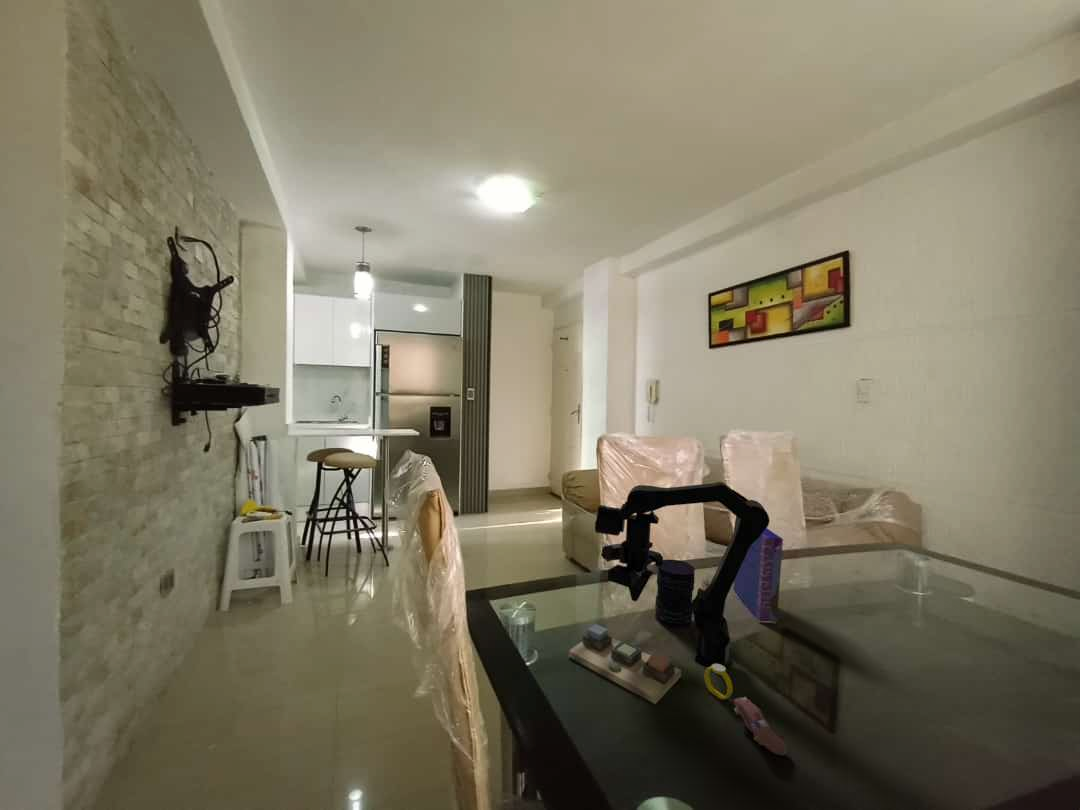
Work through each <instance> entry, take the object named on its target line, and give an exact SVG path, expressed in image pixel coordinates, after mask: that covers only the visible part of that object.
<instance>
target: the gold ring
mask: <svg viewBox="0 0 1080 810" xmlns="http://www.w3.org/2000/svg"><path fill="white" fill-rule="evenodd" d="M726 668H727V667H726ZM726 668H725V667H724V666H723V665H721V664H713V665H712V666H710V667H708V666H707V667H706V669H705V670H704V674H703V677H704V678H703V679H704V683H705V685H706V688H707V689H708V691H709V693H711V694H713V695H714V696H715V697H717V698H718V699H719V700H727V699H728V698H730V697H731V696H732V694H733V681H732V680H731V678H730V675H729V674H728V673H727V669H726ZM711 671H712V673H715V674H716V675H720V676H721V677H722V678H723V679H724V681H725V684H726V688H727V689H726V694H724V695H723V694H722V693H721V692H720V691H718V690H717V689H715V687H714V686H713V684H712V682H711V677H710V672H711Z"/></svg>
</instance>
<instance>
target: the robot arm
mask: <svg viewBox="0 0 1080 810" xmlns="http://www.w3.org/2000/svg"><path fill="white" fill-rule="evenodd" d="M715 502H716V503H717V502H718V503H720V504H721V505H722V506H723V507H725V508H726V509H727V510H729V512H731V513H732V514H733V515H734V516H735V519H734V527H733V532H732V535H731V538H730V541H729V543H728V544H727V547H726V549H725V550H724V551H725V552H724V553H723V555H722V558H721V560H720V562H719V565H718V566H717V568H716V571H715V572H714V575H713V577H712V580H711V581H710V584H709V586H708V587H707V588H705V589H702V588H701V587H698V589H697V593H696V596H695V598H692V605H693V614H692V615H693V622H694V626H695V627H696V628H697V630H698V631H699V632H698V635H697V636H696V641H695V654H696V656H695V657H694V661H695V662H697V663H699V664H701V665H703V666H706V667H707V668H708V667H710V666H712V665H713V664H721V665H723V666H724V667H725V668H727V667H728V666H729V665H730V663H731V662H732V658H731V657H730V647H731V636H730V631H729V627H728V621H727V619H726V618H725V617H724V611H725V605H726V600H727V597H728V595H729V592H730V591H731V588H732V586H733V585H734V580H735V578H736V576H737V574H738V572H739V569H740V567H741V565H742V563H743V561H744V559H745V557H746V554H747V552H748V550H749V548H750V546H751V545H752V544H753V543H754V542H755V541H756V540H757V539H758V538H759V537H760V536H761V535H762V533H763V532H764V531H765V529H766V528H767V529H768V526H770V525H769V524H770V516H769V513H768V512H767V511H766V509H765V508H764V505H762V503H760V502H759V501H757V500H754V499H748V498H746V497H745V496H744V495H742V494H741V493H739V492H738V491H737V490H735V489H733V488H732V487H730V486H728V484H726V483H725V482H723V481H716V482H714V483H713V482H712V483H703V484H702V483H701V484H691V485H682V486H681V485H680V486H673V487H660V486H654V485H642V484H639V485H636V486H633V487H632V488H631V490H630V491H629V493H628V495H627V498H626V501H625V502H624V503H622V504H621V507H620V508H619V507H613V506H612V507H610V506H606V505H604V504H603V505H602V504H600V505H599V506H598V507H597V512H596V519H595V521H594V523H595V524H594V531H595V533H596V534H600V535H601V534H602V535H609V536H616V537H619V535H620V534H621V533H624V532H626V534H625V540H623V541H622V542H621V543H614V544H608V545H607V544H606V545H603V546H602V550H601V554H600V556H601V557H602V559H603V560H605V562H606V563H608V562H609V563H610V562H612V561H619V563H620V564H616V565H614V566H612V567H611V568H610V569H608V570H607V571H606V572H607V573H606V579H607V581H609V582H612V583H615V584H617V585H620V586H623V587H627V588H628V591H629V595H630V598H631V601H633V602H637V601H638V600H639V598H640V596H641V594H642V593H643V590H644V589H645V587H646V585H647V583H648V581H649V580H650V579H651V577H652V575H653V573H654V572H653V571H652V570H649V568H648V566H650V565H651V564H652V563H655V567H657V568H658V567H660V566H661V565H663V560H664V556H663V555H662V554H661V553H660V552H657V551H654V550H650V549H651V548H653V546H654V545H653V542H652V541H651V524H653V525H654V524H655V525H658V524H659V520H660V517H658V516H657V515H656V514H655V511H657V510H659V509H661V508H665V507H668V506H669V507H671V506H681V505H691V504H692V505H693V504H705V503H715ZM625 523H626V527H625ZM625 529H626V531H624V530H625ZM621 564H625V565H621ZM730 661H731V662H730ZM729 662H730V663H729ZM727 665H728V666H727Z"/></svg>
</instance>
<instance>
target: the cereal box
mask: <svg viewBox="0 0 1080 810" xmlns="http://www.w3.org/2000/svg"><path fill="white" fill-rule="evenodd" d="M783 543H784V538H782V537H781V536H779V535H778V534H776V533H775V532H773V531H772V530H770V529H768V527H767V528H766V529H765V531H764V532H763V533H762V535H761V536H760V537H759V538H758V539H757V540H756V541H755V542H754V543H753V544H752V545H751V546H750V548H749V550H748V552H747V554H746V557H745V559H744V561H743V563H742V565H741V567H740V569H739V572H738V574H737V576H736V578H735V580H734V582H733V590H734V591H735V593H736V594H737V596H738V597H739V599H740V600H741V601H742V603H743V604H744V605H745V606H746V607H747V608H748V609H749V611H751V613H752V614H753V615H754V616H755V617H756V618H757V619H758V620H759V621H772V622H777V623H778V612H779V599H780V583H781V571H782V557H783ZM739 599H738V600H739ZM742 603H741V604H742ZM743 604H742V605H743ZM744 605H743V606H744ZM745 606H744V607H745ZM746 607H745V608H746ZM749 611H748V612H749ZM751 613H750V614H751ZM752 614H751V615H752ZM753 615H752V616H753ZM754 616H753V617H754Z"/></svg>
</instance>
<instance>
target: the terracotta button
mask: <svg viewBox="0 0 1080 810" xmlns="http://www.w3.org/2000/svg"><path fill="white" fill-rule="evenodd" d="M650 656H651V657H649V661H648V666H650V667H652V668H654V669H656V670H658V671H660V672H662V673H664V672H665V671H666V670H667V669H668V668H669V667H670V663H671V658H670V657H669V656H666V655H664V654H662V653H659V652H658V651H655V652H653V654H652V655H650Z"/></svg>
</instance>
